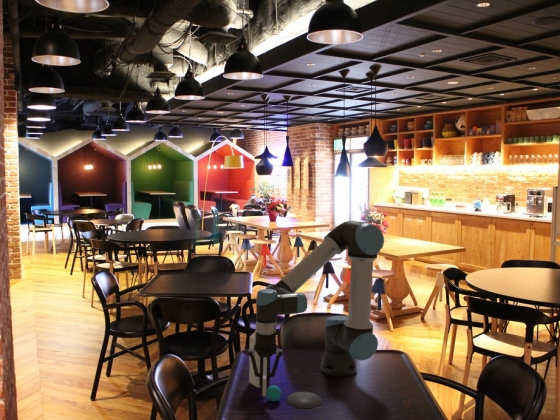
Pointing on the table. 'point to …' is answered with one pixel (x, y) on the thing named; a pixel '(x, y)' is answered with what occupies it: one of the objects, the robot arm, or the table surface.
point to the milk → (252, 377)
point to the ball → (273, 393)
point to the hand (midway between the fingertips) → (264, 394)
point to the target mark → (303, 400)
